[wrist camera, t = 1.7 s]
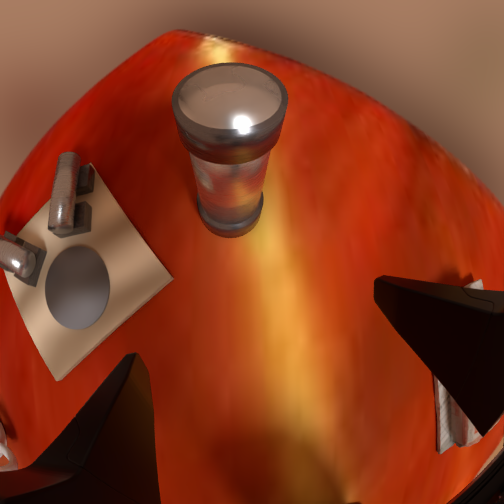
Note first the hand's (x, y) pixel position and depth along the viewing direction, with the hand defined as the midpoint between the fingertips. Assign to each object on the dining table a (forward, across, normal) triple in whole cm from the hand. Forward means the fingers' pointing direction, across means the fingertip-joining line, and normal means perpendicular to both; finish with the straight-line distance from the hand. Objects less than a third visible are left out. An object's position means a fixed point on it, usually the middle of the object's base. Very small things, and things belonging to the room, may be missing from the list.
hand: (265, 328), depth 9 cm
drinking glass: (+15, -2, -1) cm, 16 cm away
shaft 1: (+16, +20, -2) cm, 26 cm away
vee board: (+15, +14, 0) cm, 21 cm away
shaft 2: (+18, +12, -5) cm, 23 cm away
